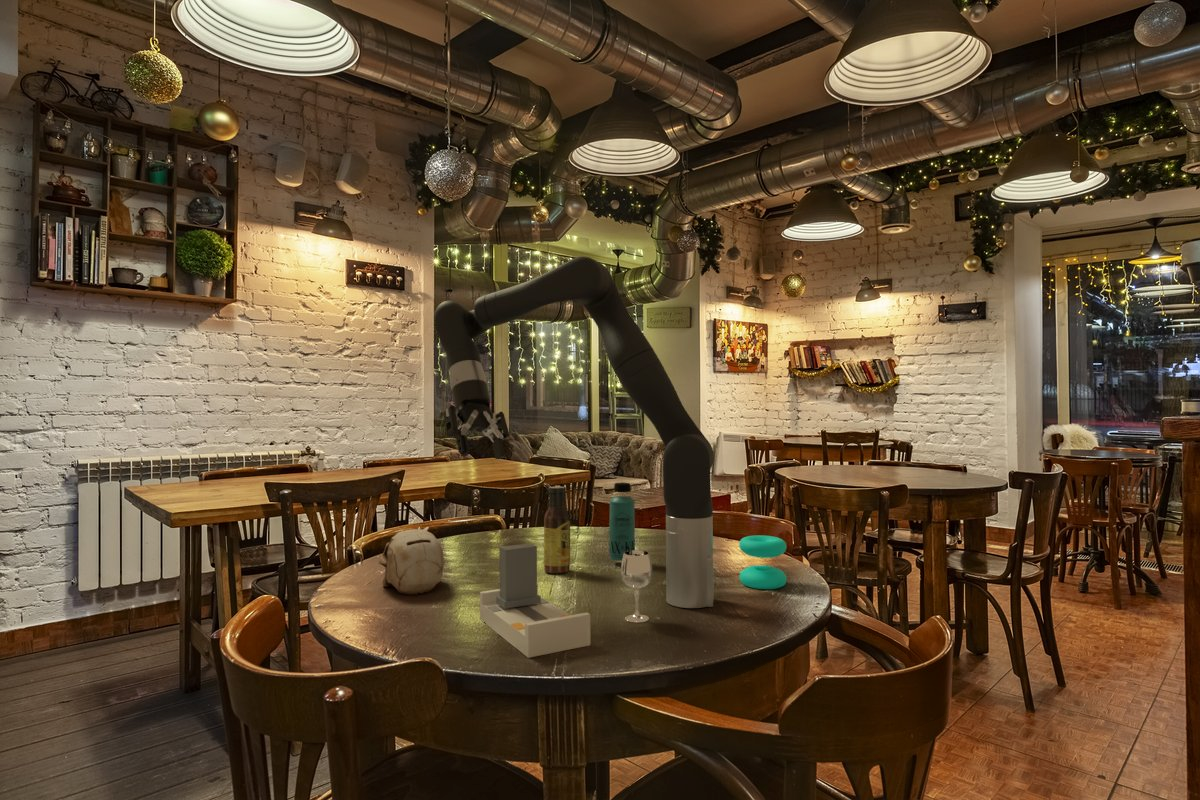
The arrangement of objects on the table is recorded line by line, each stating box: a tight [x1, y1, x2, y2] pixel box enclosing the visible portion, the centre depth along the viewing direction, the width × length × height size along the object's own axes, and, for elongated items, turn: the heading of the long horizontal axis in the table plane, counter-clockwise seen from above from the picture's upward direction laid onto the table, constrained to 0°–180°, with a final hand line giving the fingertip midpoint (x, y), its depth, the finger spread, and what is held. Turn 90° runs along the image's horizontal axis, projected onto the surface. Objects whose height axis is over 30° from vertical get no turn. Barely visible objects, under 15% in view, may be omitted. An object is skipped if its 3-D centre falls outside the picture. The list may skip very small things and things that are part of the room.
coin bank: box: [378, 528, 445, 595], centre depth 147 cm, size 16×17×13 cm
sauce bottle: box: [543, 486, 571, 575], centre depth 160 cm, size 6×6×20 cm
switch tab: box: [496, 543, 542, 609], centre depth 123 cm, size 4×7×10 cm, turn 120°
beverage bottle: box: [608, 482, 636, 562], centre depth 167 cm, size 6×7×20 cm
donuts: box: [738, 534, 788, 590], centre depth 148 cm, size 10×10×10 cm
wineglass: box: [620, 549, 653, 623], centre depth 124 cm, size 6×6×12 cm
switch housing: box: [479, 584, 591, 659], centre depth 118 cm, size 22×11×5 cm, turn 30°
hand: (483, 456), depth 138 cm, fingers open, 8 cm apart
